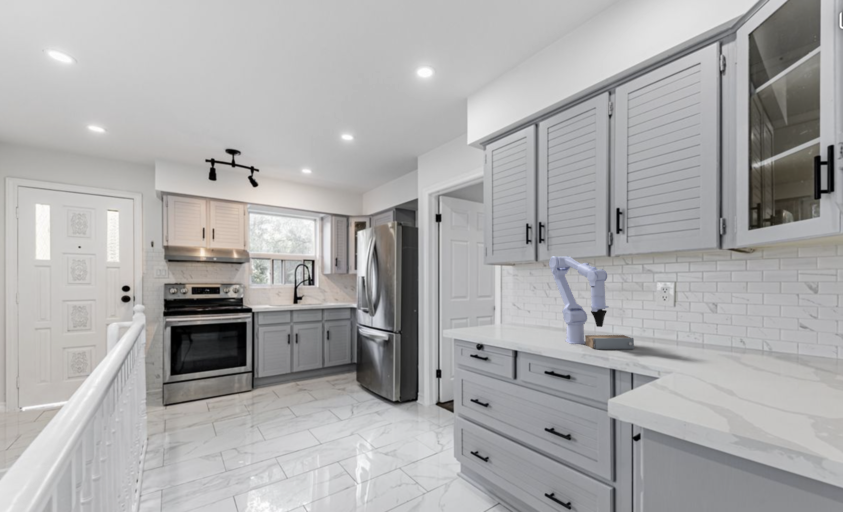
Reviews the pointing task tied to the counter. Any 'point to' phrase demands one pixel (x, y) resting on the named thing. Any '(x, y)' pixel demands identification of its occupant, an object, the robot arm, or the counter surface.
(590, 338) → the cabinet
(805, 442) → the counter surface
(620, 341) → the door
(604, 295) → the robot arm
